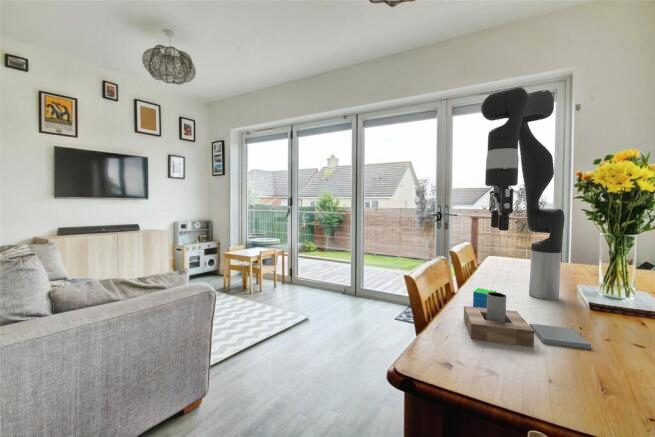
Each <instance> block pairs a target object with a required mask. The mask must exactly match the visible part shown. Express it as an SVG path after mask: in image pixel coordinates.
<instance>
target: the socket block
mask: <svg viewBox="0 0 655 437" xmlns="http://www.w3.org/2000/svg"><path fill="white" fill-rule="evenodd" d="M486 312H487V308H478V307H473V306H468V305H467V306H466V305H464V306H463V321H464V324H465V327H466V329H467V332H468V334H469V338H470V340H478V341H483V342H491V343H498V344H499V343H501V344H509V345H514V344H515V346H524V347H531V348H534V346H535V345H534V344H535V333H534V330H533V329H532V328H531V327H530V323H528V322H527V321H526V320H525V319H524V317H522V315H521V314H520V313H519V312H518V311H517V310H507V309H506V316H505V322H497V321H488V320H486Z"/></svg>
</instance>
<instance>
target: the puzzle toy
mask: <svg viewBox="0 0 655 437" xmlns="http://www.w3.org/2000/svg"><path fill="white" fill-rule="evenodd" d="M489 292H497V290H491V289H486V288H480V287H478V288H476V289H475V290H474V291H473V298H472V307H478V308H487V293H489Z"/></svg>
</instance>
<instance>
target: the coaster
mask: <svg viewBox="0 0 655 437" xmlns="http://www.w3.org/2000/svg"><path fill="white" fill-rule="evenodd" d="M529 325H530V327H531V328H532V329H533V330H534V336H536V337H537V338H538V339H539V341H541V343H542V344H545V345H553V346H562V347H570V348H571V347H572V348H578V349H586V350H592V343H591V342H590V341H588V340H587V339H586V338H584V337H583V336H582V335H581V334H579V333H578V332H577V331H576V330H575V329H574V328H573V327H564V326H555V325H546V324H536V323H529Z"/></svg>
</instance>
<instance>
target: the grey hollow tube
mask: <svg viewBox="0 0 655 437" xmlns="http://www.w3.org/2000/svg"><path fill="white" fill-rule="evenodd" d="M506 310H507V295H506V294H505V293H502V292H497V291H496V292H489V293H487V312H486V320H488V321H497V322H505V316H506Z"/></svg>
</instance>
